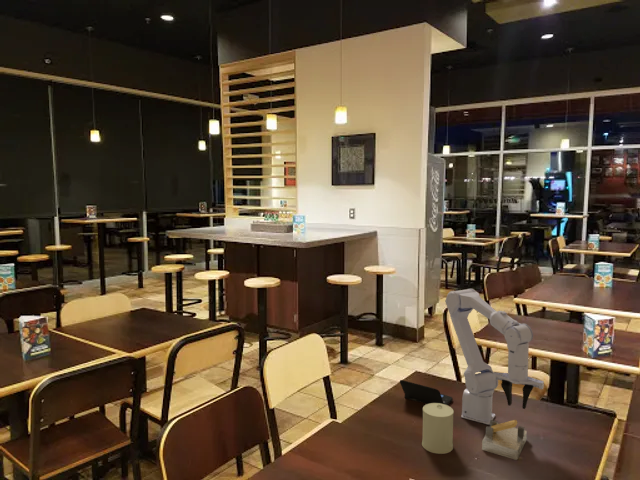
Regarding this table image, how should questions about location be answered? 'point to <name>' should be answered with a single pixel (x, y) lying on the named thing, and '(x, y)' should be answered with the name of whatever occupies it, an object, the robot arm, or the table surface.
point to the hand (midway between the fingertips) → (517, 405)
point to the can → (437, 428)
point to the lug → (521, 431)
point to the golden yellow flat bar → (504, 426)
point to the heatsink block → (503, 441)
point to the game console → (424, 393)
